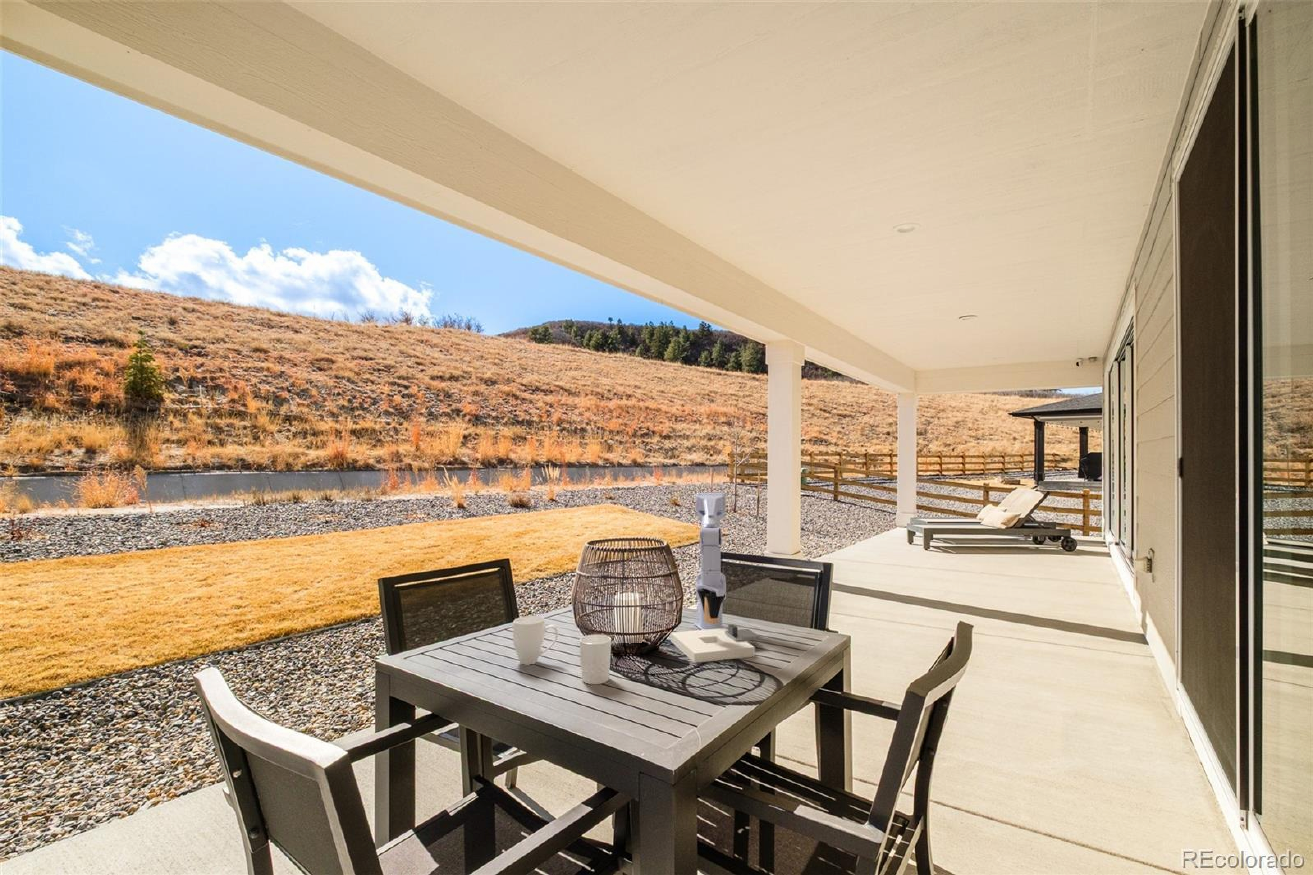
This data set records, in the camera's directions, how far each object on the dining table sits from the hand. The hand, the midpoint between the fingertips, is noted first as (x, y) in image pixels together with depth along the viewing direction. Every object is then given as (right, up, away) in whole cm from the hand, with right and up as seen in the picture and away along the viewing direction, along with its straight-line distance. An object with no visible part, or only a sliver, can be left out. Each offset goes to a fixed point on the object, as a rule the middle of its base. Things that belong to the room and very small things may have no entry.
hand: (710, 616), depth 173 cm
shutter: (+10, -7, +3) cm, 12 cm away
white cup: (-31, -9, -25) cm, 41 cm away
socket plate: (0, -9, 0) cm, 9 cm away
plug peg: (0, -2, 0) cm, 2 cm away
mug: (-49, -9, -12) cm, 51 cm away
